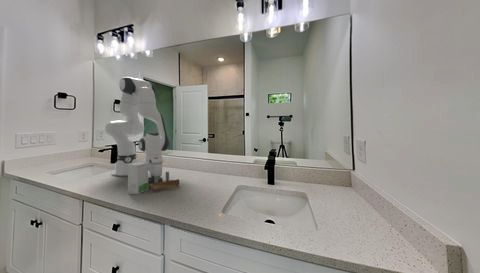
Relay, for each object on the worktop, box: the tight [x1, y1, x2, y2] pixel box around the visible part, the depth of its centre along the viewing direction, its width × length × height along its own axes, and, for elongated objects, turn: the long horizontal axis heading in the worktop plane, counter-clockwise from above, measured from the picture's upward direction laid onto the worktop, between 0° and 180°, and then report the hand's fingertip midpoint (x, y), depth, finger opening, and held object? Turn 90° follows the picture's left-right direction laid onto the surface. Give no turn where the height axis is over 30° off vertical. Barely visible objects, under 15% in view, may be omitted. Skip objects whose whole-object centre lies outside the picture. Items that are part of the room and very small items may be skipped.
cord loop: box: [148, 176, 164, 187], centre depth 111 cm, size 6×8×3 cm
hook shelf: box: [148, 171, 180, 193], centre depth 105 cm, size 12×14×8 cm
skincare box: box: [127, 161, 149, 195], centre depth 97 cm, size 8×7×16 cm
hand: (154, 180), depth 111 cm, fingers open, 7 cm apart
